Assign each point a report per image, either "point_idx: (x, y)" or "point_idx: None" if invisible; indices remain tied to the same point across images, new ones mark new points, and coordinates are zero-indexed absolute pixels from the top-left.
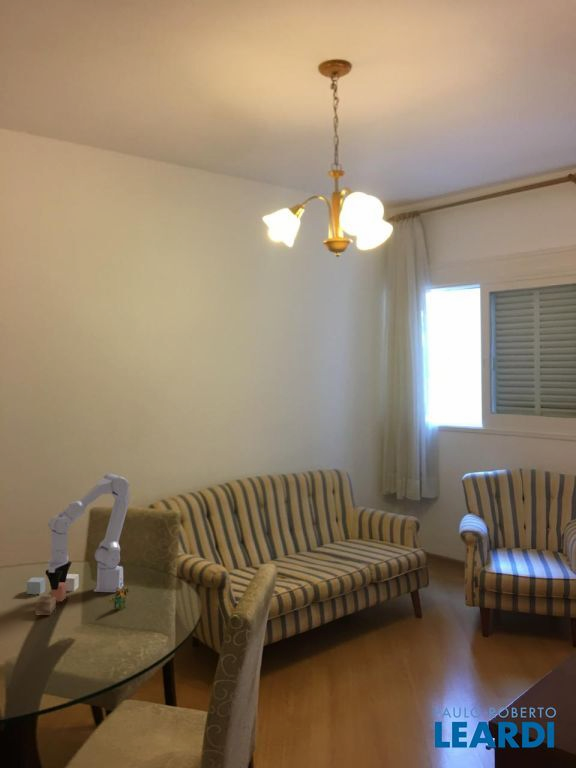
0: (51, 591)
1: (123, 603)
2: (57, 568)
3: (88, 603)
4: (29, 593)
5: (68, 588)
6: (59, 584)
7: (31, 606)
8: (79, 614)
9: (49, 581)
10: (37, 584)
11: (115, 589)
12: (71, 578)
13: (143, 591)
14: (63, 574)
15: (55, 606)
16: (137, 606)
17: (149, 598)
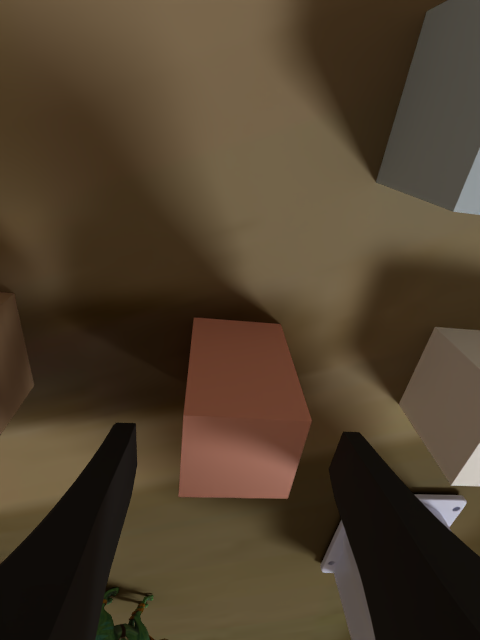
0: (188, 376)
1: (131, 625)
2: (440, 596)
3: (180, 502)
4: (423, 48)
5: (422, 386)
6: (234, 468)
7: (78, 182)
8: (13, 501)
9: (55, 506)
10: (448, 164)
11: (338, 569)
12: (462, 469)
13: (321, 614)
14: (365, 545)
15: (18, 406)
16: (156, 624)
17: (241, 634)
